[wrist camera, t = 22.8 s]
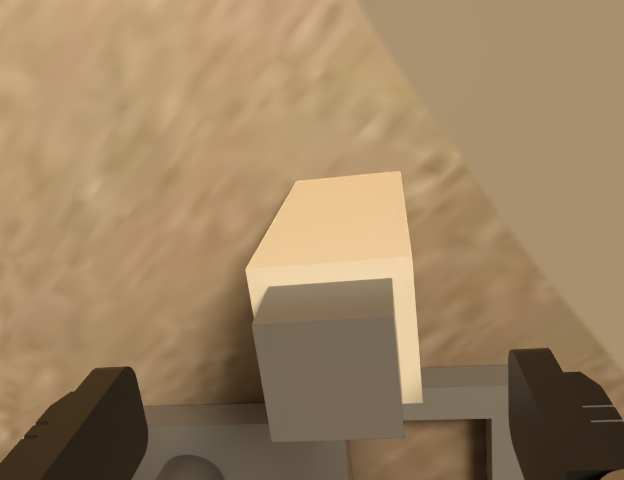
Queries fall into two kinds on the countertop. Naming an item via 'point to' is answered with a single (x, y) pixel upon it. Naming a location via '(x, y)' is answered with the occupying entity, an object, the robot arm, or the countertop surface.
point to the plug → (337, 311)
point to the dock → (315, 454)
